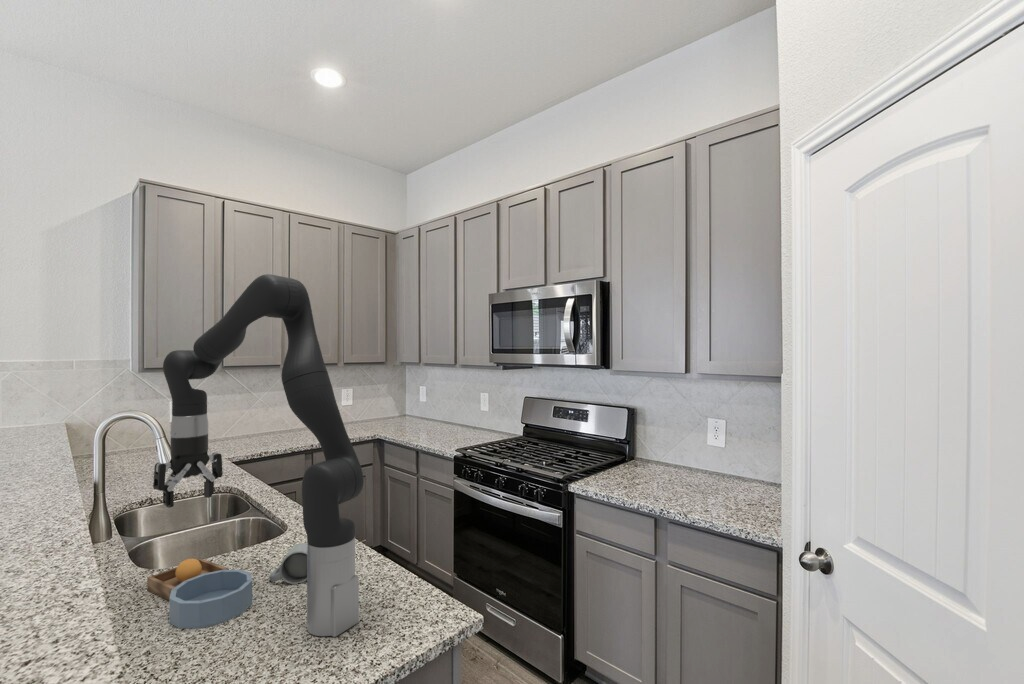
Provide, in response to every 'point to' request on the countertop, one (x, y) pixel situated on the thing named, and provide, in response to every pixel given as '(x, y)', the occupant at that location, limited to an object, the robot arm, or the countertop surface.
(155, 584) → the tray
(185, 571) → the ball
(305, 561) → the ceramic mug
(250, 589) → the faceted grey bowl
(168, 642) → the countertop surface
